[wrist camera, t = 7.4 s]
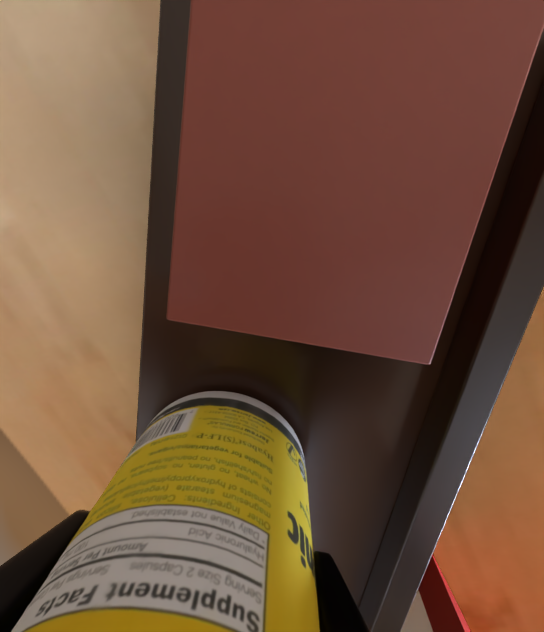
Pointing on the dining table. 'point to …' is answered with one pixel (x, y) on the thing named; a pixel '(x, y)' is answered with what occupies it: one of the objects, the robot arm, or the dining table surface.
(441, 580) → the book
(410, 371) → the walnut shelf
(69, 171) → the dining table surface
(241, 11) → the red book
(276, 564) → the supplement bottle
